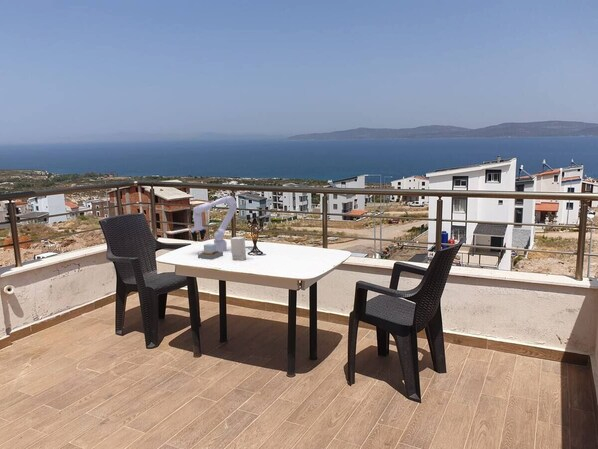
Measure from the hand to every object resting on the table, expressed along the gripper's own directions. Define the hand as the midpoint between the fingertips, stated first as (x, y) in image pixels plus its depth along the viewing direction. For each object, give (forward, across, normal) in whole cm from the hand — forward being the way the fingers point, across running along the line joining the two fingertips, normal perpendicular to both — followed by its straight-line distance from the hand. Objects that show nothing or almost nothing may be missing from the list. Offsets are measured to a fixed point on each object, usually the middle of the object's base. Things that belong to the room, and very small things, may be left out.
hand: (198, 240), depth 325 cm
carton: (+6, +7, +16) cm, 19 cm away
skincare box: (+10, +3, +38) cm, 40 cm away
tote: (+10, +7, +16) cm, 21 cm away
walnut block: (+10, +8, +16) cm, 20 cm away
